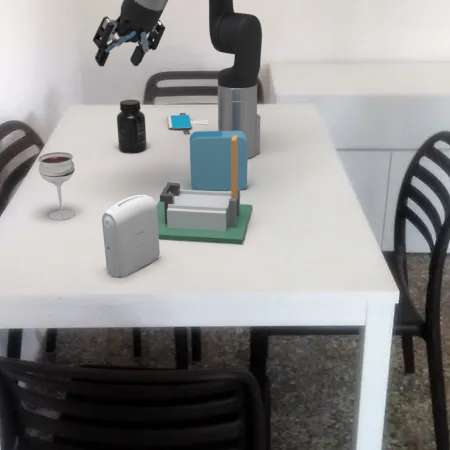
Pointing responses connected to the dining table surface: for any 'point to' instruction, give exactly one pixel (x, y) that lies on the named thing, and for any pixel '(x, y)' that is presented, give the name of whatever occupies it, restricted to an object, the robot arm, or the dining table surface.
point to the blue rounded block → (216, 160)
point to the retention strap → (234, 167)
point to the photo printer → (130, 234)
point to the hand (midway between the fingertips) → (116, 63)
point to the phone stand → (183, 122)
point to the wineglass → (57, 176)
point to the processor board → (204, 234)
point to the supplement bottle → (131, 127)
